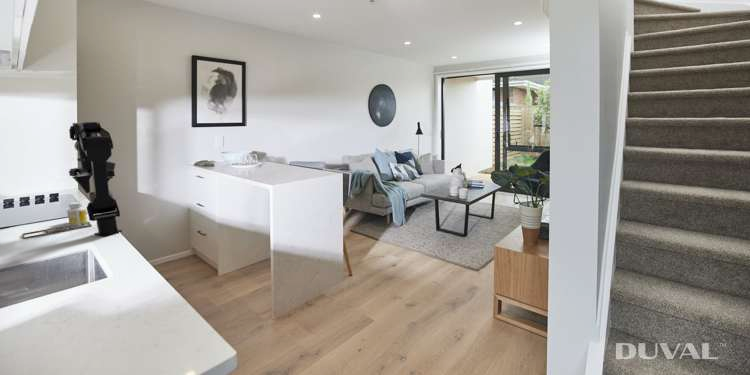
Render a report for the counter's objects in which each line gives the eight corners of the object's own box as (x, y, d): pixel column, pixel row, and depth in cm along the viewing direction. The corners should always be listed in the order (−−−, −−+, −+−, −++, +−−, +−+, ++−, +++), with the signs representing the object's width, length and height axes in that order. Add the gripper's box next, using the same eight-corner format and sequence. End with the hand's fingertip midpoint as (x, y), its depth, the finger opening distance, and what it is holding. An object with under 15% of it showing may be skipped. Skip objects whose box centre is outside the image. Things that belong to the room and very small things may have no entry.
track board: (88, 222, 153) (88, 221, 152) (91, 226, 148) (91, 225, 148) (22, 234, 139) (22, 233, 139) (23, 239, 134) (23, 237, 134)
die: (84, 219, 158) (81, 207, 157) (85, 221, 154) (83, 209, 153) (69, 222, 154) (66, 209, 153) (70, 224, 151) (68, 211, 150)
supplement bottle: (71, 229, 144) (66, 205, 142) (70, 226, 148) (65, 203, 146) (88, 226, 147) (84, 203, 145) (87, 223, 151) (82, 200, 149)
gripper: (125, 153, 147) (131, 191, 150) (95, 151, 154) (101, 188, 157) (95, 157, 137) (102, 197, 140) (64, 155, 143) (72, 193, 147)
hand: (95, 193), depth 146 cm, fingers open, 9 cm apart
